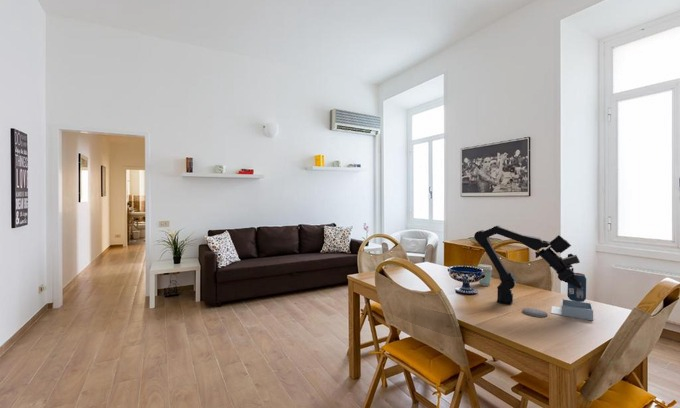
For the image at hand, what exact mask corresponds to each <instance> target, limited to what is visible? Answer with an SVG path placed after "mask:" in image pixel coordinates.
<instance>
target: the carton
mask: <svg viewBox="0 0 680 408" xmlns="http://www.w3.org/2000/svg"><path fill="white" fill-rule="evenodd" d="M551 314H552V315H558V316H565V317H571V318H575V319H582V320H587V321H588V320H589V321H594V308H593V305H592V303H591V302H585V301H584V302H577V301H572V300H570V299H566V298H565V299H564V298H563V299H562V298H561V307H559V306H555V305H552V306H551Z"/></svg>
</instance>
